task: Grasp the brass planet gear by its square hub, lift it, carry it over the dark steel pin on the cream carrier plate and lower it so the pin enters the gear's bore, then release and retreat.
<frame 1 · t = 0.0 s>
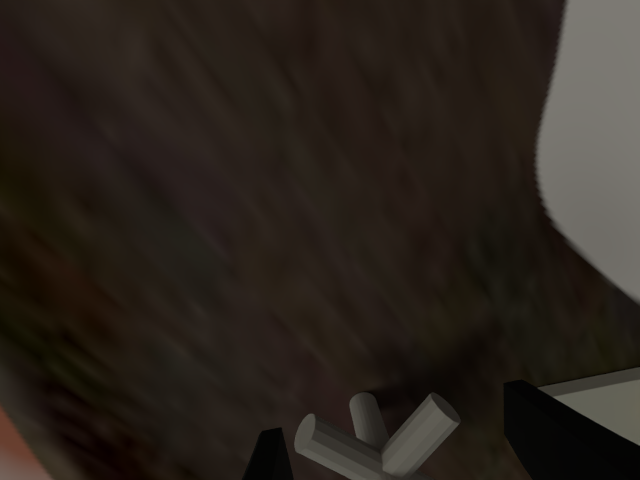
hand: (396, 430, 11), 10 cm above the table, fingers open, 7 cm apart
pipe connector: (362, 401, 23), on the table
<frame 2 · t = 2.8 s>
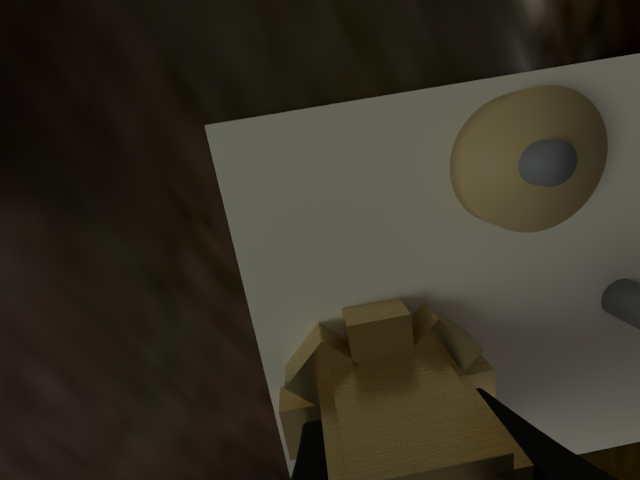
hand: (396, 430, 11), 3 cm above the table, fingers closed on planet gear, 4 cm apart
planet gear: (382, 390, 12), point 1 cm above the table, touching carrier, gripper
carrier: (483, 295, 13), on the table
when the fingers open (4 cm above the table, at t = 6.5 s): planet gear stays where it is, resting on carrier.
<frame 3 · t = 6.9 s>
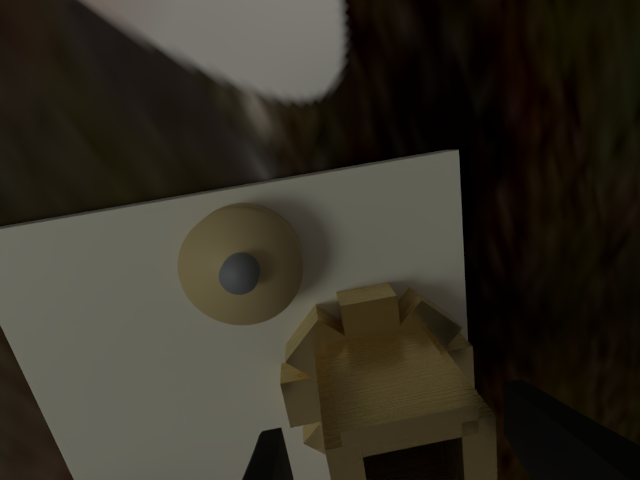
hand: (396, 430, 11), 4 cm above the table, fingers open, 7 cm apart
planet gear: (373, 367, 14), point 1 cm above the table, touching carrier
carrier: (263, 362, 14), on the table
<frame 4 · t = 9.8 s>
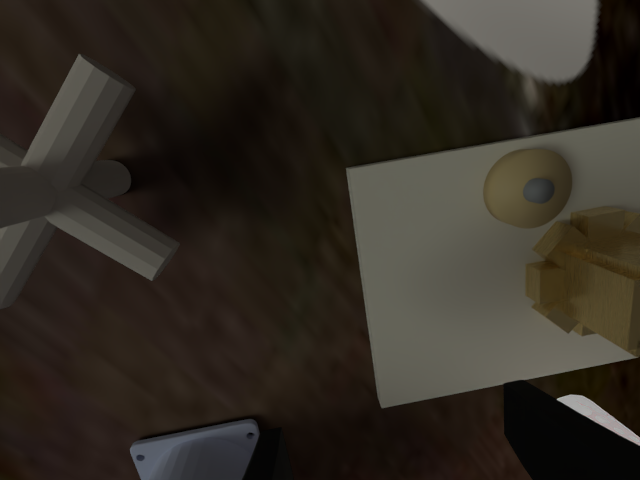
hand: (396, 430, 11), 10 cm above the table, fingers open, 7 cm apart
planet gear: (584, 268, 20), point 1 cm above the table, touching carrier
pipe connector: (114, 177, 18), on the table
beverage cup: (563, 419, 24), on the table
carrier: (500, 268, 21), on the table
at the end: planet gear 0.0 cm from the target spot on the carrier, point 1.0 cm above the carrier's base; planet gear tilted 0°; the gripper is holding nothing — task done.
